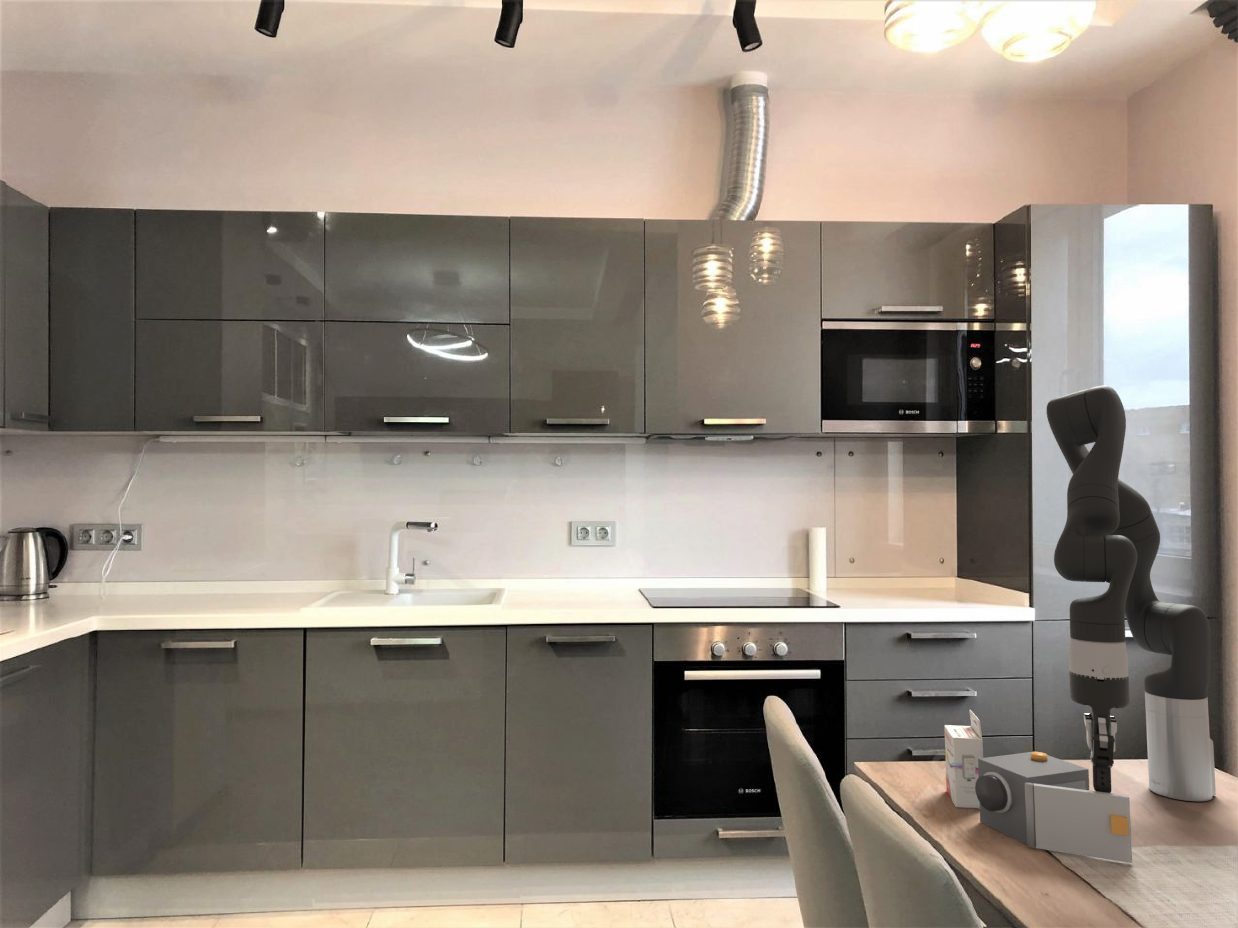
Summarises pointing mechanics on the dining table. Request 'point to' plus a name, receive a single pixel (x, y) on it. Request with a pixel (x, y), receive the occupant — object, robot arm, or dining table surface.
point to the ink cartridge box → (963, 762)
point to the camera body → (1020, 787)
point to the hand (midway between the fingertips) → (1102, 790)
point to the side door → (1078, 822)
